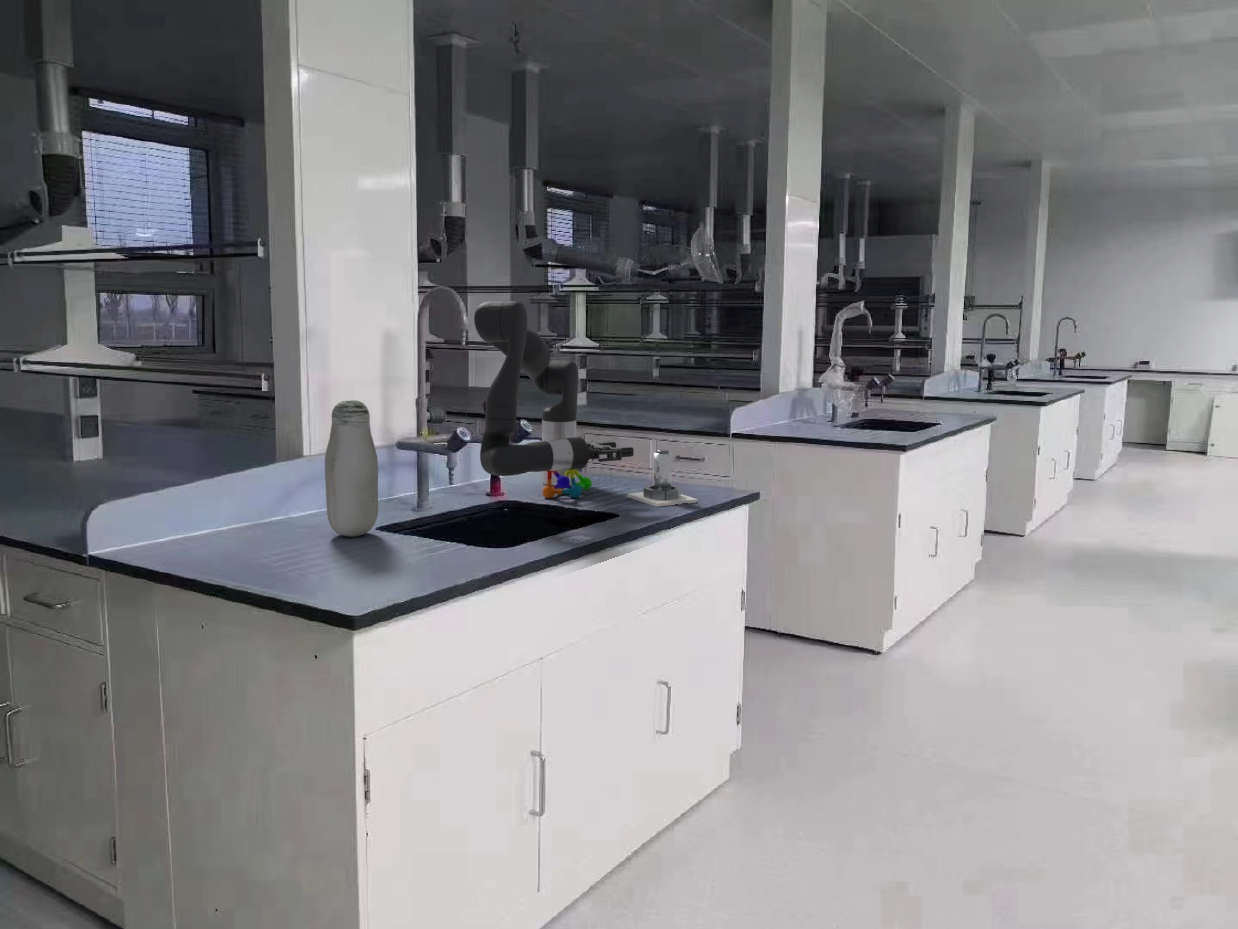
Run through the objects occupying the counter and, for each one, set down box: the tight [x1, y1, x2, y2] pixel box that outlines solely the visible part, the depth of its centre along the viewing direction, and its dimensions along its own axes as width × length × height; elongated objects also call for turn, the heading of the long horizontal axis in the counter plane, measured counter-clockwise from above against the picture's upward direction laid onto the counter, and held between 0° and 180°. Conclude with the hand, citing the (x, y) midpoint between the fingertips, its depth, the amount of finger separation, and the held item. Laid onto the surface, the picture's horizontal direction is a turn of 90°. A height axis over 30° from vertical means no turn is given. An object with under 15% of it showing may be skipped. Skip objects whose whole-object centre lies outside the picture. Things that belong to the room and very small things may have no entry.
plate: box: [626, 491, 699, 508], centre depth 243 cm, size 14×12×1 cm
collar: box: [643, 484, 682, 500], centre depth 243 cm, size 9×9×2 cm
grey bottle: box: [324, 399, 379, 538], centre depth 199 cm, size 10×10×28 cm
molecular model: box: [541, 469, 593, 499], centre depth 245 cm, size 11×10×15 cm
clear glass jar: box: [652, 449, 673, 490], centre depth 242 cm, size 5×5×12 cm
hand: (624, 448), depth 237 cm, fingers open, 8 cm apart
